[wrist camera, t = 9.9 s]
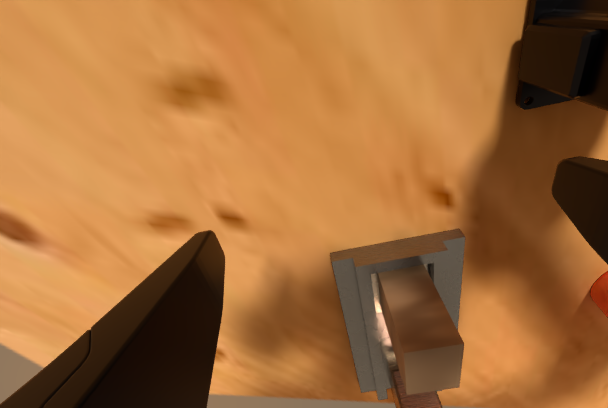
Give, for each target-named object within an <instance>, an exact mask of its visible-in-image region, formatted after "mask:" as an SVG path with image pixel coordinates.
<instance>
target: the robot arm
mask: <svg viewBox="0 0 608 408" xmlns="http://www.w3.org/2000/svg"><path fill="white" fill-rule="evenodd" d="M518 78H519V84H518V91H517V97H516V105H517V106H518V107H520V108H522V109H524V110H525V109H532V108H536V107H541V106H546V105H550V104H555V103H560V102H564V101H569V100H574V99H576V100H579V101H581V102H584V103H587V104H590V105H593V106H596V107H598V108H601V109H604V110H607V111H608V0H531V4H530V10H529V17H528V24H527V29H526V30H525V33H524V39H523V46H522V53H521V60H520V67H519V73H518ZM528 97H529V100H528V101H527V102H526V103H524V102H525V99H526V98H528ZM552 195H553V197H554V199H555V200H556V201H557V203H558V204H559V205H560V207H561V208H562V209H563V211H564V212H565V213H566V215H567V216H568V217H569V219H570V220H571V221H572V223H573V224H574V225H575V227H576V228H577V229H578V231H579V232H580V233H581V235H582V236H583V237H584V238H585V240H586V241H587V242H588V243H589V245H590V246H591V247H592V248H593V249H594V250H595V251H596V253H597V254H598V255H599V256H600V257H601V258H602V259H603V260H604V261H605V262H606V263H607V264H608V161H605V160H599V159H593V158H587V157H574V158H569V159H564V160H562V161H560V162H559V164H558V165H557V169H556V173H555V177H554V181H553V185H552ZM224 274H225V255H224V252H223V250H222V248H221V246H220V243H219V241H218V239H217V237H216V235H215V233H214V232H213V231H211V230H208V231H203V232H198V233H196V234H195V235H194V236H193V237H192V238H191V239H190V240H188V241H187V242H186V243H185V244H184V245H183V246H182V247H181V248H179V249H178V250H177V251H176V252H175V253H174V254H173V255H172V256H171V257H169V258H168V259H167V260H166V261H165V262H164V263H163V264H162V265H160V266H159V267H158V268H157V269H156V270H155V271H154V272H153V273H151V274H150V275H149V276H148V277H147V278H146V279H145V280H144V281H143V282H141V283H140V284H139V285H138V286H137V287H136V288H135V289H134V290H132V291H131V292H130V293H129V294H128V295H127V296H126V297H125V298H123V299H122V300H121V301H120V302H119V303H118V304H117V305H116V306H114V307H113V308H112V309H111V310H110V311H109V312H108V313H107V314H106V315H104V316H103V317H102V318H101V319H100V320H99V321H98V322H97V323H95V324H94V325H93V326H92V327H91V330H87V331H86V332H85V333H84V334H83V335H82V336H81V337H80V338H79V339H77V340H76V341H75V342H74V343H73V344H72V345H71V346H70V347H68V348H67V349H66V350H65V351H64V352H63V353H61V354H60V355H59V356H58V357H57V358H56V359H55V360H53V361H52V362H51V363H50V364H49V365H47V366H46V367H45V368H44V369H43V370H41V371H40V372H39V373H38V374H37V375H35V376H34V377H33V378H32V379H30V380H29V381H28V382H27V383H26V384H25V385H23V386H22V387H21V388H20V389H18V390H17V391H16V392H15V393H13V394H12V395H11V396H10V397H8V398H7V399H6V400H5V401H3V402H2V403H1V404H0V408H207V401H208V395H209V390H210V384H211V378H212V372H213V366H214V360H215V354H216V348H217V342H218V336H219V330H220V324H221V318H222V310H223V295H224Z"/></svg>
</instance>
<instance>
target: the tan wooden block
mask: <svg viewBox="0 0 608 408" xmlns="http://www.w3.org/2000/svg"><path fill="white" fill-rule="evenodd" d="M377 277H378V286H379V294H380V303H381V310H382V314H383V317H384V321H385V324H386V327H387V331H388V334H389V337H390V341H391V344H392V347H393V351H394V354H395V358H396V361H397V364H398V368H399V371H400V374H401V378H402V381H403V384H404V388H405V391H406V395H410V394H417V393H424V392H431V391H437V390H444V389H451V388H458V387H459V386H460V377H461V368H462V359H463V350H464V342H463V340H462V338H461V336H460V334H459V333H458V331H457V329H456V327H455V325H454V323H453V321H452V319H451V317H450V315H449V313H448V311H447V309H446V307H445V305H444V303H443V301H442V299H441V297H440V295H439V293H438V291H437V289H436V287H435V285H434V283H433V281H432V279H431V277H430V275H429V273H428V272H427V270H426V268H425V266H424V265H419V266H413V267H408V268H402V269H397V270H391V271H386V272H380V273H377Z"/></svg>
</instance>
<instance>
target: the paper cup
mask: <svg viewBox="0 0 608 408" xmlns="http://www.w3.org/2000/svg"><path fill="white" fill-rule="evenodd" d="M590 295H591V298H592V299H593V301H594V302H595V303H596V304H597V306H598V307H599V308H600V309H601V310H602V311H603V313H604V314H605V315H606V316H607V317H608V271H607V272H606V273H605V274H603V275H602V276H601V277H600V278H599V279H598V280H597V281H596V282H595V283H594V284H593V286H592V288H591V291H590Z"/></svg>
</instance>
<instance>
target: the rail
mask: <svg viewBox="0 0 608 408" xmlns="http://www.w3.org/2000/svg"><path fill="white" fill-rule="evenodd" d="M464 246H465V236H464V235H463V233H462V232H461V231H460V229H455V230H450V231H444V232H439V233H434V234H428V235H423V236H418V237H412V238H407V239H402V240H396V241H391V242H386V243H380V244H375V245H370V246H365V247H359V248H354V249H349V250H343V251H338V252H333V253H330V255H331V261H332V266H333V270H334V275H335V279H336V284H337V288H338V292H339V297H340V301H341V306H342V310H343V314H344V319H345V323H346V328H347V332H348V336H349V341H350V345H351V350H352V354H353V359H354V363H355V367H356V372H357V376H358V381H359V385H360V389H361V393H362V392H369V391H375V390H376V392H377V396H378V400H382V399H388V397H387V390H386V389H389V388H391V390H392V394H393V397H394V401H395V405H396V408H442V405H441V402H440V400H439V397H438V394H437V392H436V391H431V392H424V393H417V394H410V395H406V391H405V388H404V384H403V381H402V378H401V374H400V371H399V368H398V364H397V361H396V358H395V354H394V351H393V347H392V344H391V341H390V337H389V334H388V331H387V327H386V324H385V321H384V317H383V314H382V310H381V303H380V294H379V286H378V277H377V273H380V272H386V271H391V270H397V269H402V268H408V267H413V266H419V265H424V266H425V268H426V270H427V272H428V273H429V275H430V277H431V279H432V281H433V283H434V285H435V287H436V289H437V291H438V293H439V295H440V297H441V299H442V301H443V303H444V305H445V307H446V309H447V311H448V313H449V315H450V317H451V319H452V321H453V323H454V325H455V327H456V329H457V331H458V319H459V307H460V295H461V283H462V270H463V258H464ZM437 391H442V390H437Z"/></svg>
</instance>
